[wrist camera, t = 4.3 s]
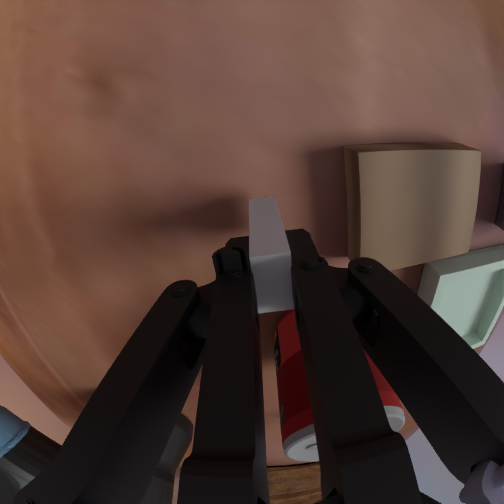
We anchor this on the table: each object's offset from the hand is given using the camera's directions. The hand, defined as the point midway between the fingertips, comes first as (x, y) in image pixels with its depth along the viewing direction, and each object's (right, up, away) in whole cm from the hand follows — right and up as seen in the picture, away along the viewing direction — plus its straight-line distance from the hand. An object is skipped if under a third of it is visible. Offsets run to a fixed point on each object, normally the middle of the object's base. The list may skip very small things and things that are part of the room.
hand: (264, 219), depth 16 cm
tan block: (+10, +2, +1) cm, 11 cm away
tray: (+21, -7, +6) cm, 23 cm away
